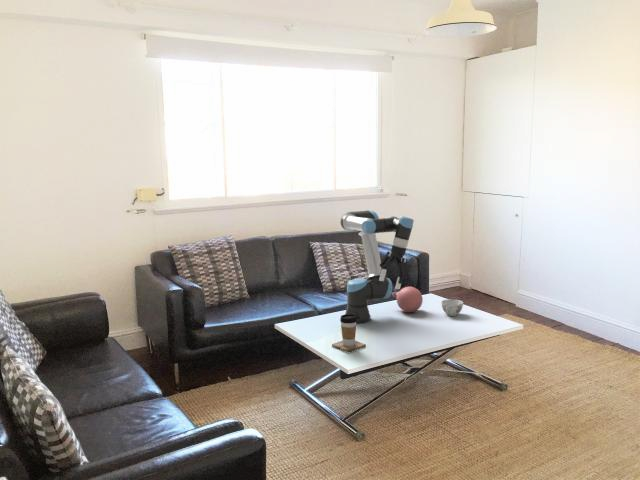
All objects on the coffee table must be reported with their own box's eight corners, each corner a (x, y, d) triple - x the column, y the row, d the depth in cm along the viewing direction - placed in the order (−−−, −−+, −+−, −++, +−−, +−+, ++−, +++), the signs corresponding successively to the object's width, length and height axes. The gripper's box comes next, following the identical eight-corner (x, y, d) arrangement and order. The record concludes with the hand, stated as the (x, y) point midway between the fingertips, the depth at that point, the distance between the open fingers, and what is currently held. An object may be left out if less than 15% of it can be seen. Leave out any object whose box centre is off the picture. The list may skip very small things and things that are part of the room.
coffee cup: (356, 347, 265) (355, 318, 262) (339, 346, 267) (338, 317, 264) (358, 341, 273) (358, 313, 270) (341, 340, 275) (341, 312, 272)
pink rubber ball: (399, 305, 338) (399, 281, 335) (427, 311, 325) (427, 286, 322) (385, 311, 327) (385, 286, 324) (413, 317, 313) (413, 291, 311)
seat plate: (331, 346, 270) (331, 344, 270) (348, 340, 278) (348, 338, 278) (348, 353, 262) (348, 350, 261) (365, 346, 270) (365, 344, 269)
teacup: (445, 310, 325) (446, 297, 324) (466, 313, 318) (466, 300, 317) (436, 317, 313) (436, 303, 312) (456, 320, 306) (457, 307, 305)
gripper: (420, 253, 271) (409, 293, 274) (390, 241, 292) (380, 278, 295) (409, 251, 267) (398, 292, 270) (379, 239, 288) (369, 277, 291)
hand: (389, 284), depth 282 cm, fingers open, 13 cm apart
